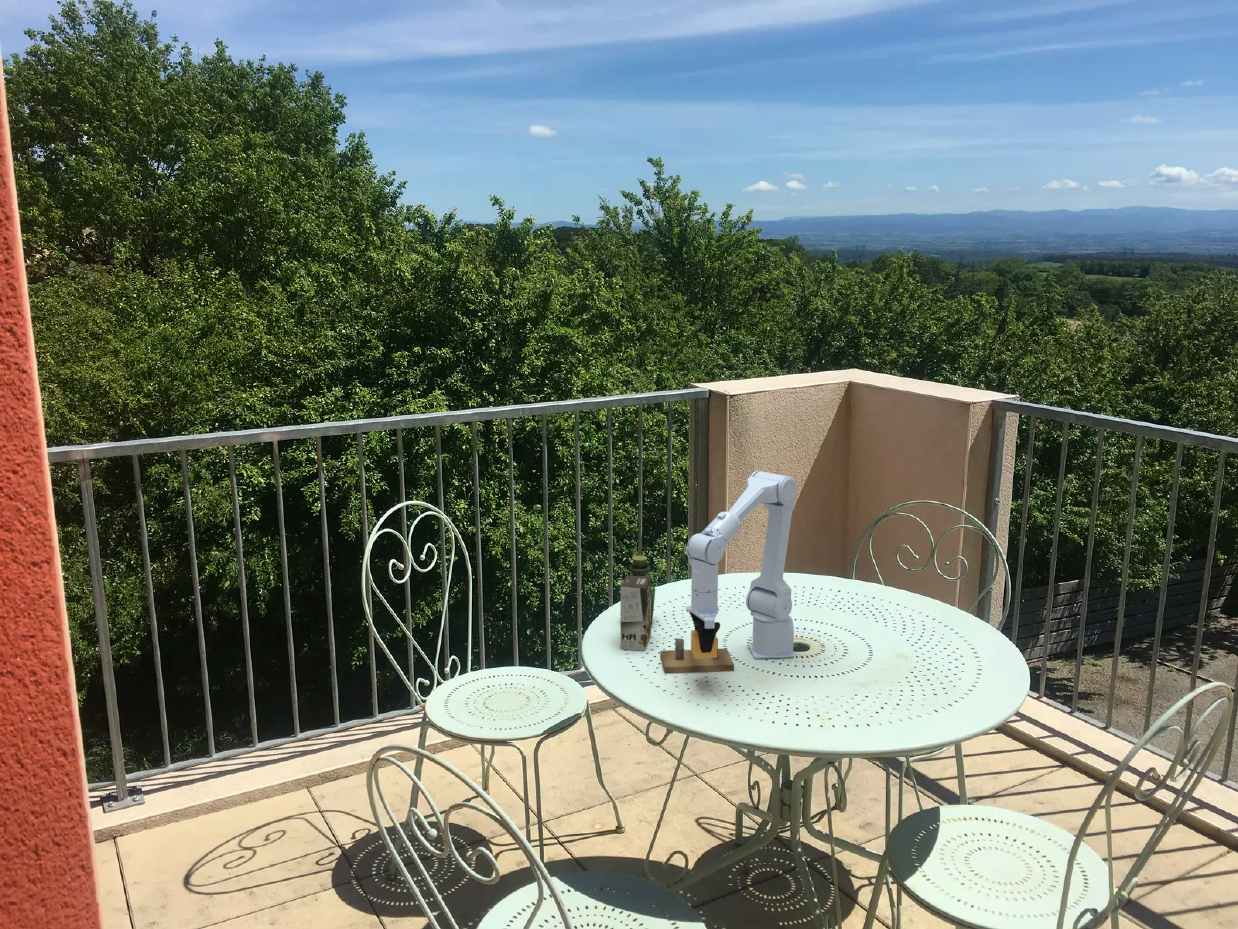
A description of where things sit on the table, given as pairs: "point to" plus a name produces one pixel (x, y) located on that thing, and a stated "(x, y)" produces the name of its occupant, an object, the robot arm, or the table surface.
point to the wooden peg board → (694, 660)
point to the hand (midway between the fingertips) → (703, 646)
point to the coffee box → (635, 612)
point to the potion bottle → (642, 569)
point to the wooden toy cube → (696, 647)
